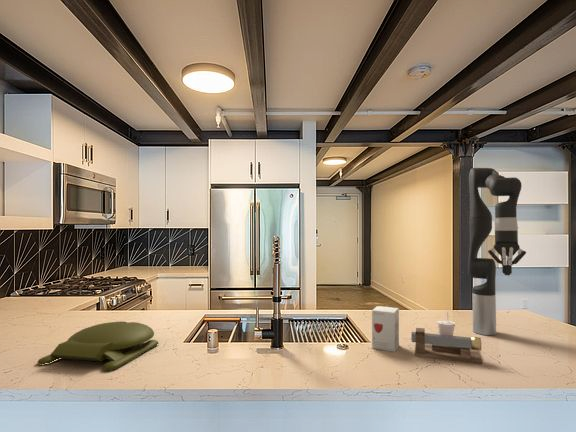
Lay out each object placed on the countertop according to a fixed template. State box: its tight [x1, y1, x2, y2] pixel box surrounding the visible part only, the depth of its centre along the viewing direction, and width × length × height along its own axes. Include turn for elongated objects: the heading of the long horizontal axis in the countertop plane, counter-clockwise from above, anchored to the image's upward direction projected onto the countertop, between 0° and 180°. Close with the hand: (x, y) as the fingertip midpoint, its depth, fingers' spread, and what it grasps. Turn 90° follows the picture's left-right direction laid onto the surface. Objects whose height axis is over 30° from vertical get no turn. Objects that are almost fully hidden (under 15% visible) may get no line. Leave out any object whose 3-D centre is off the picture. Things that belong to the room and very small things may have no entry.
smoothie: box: [436, 310, 456, 336], centre depth 137 cm, size 6×6×14 cm
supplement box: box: [371, 305, 400, 352], centre depth 142 cm, size 9×9×15 cm
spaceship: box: [37, 321, 159, 371], centre depth 137 cm, size 35×31×10 cm
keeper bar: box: [411, 331, 482, 351], centre depth 130 cm, size 4×23×4 cm, turn 68°
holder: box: [414, 327, 483, 365], centre depth 135 cm, size 17×22×9 cm
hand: (507, 275), depth 136 cm, fingers closed
